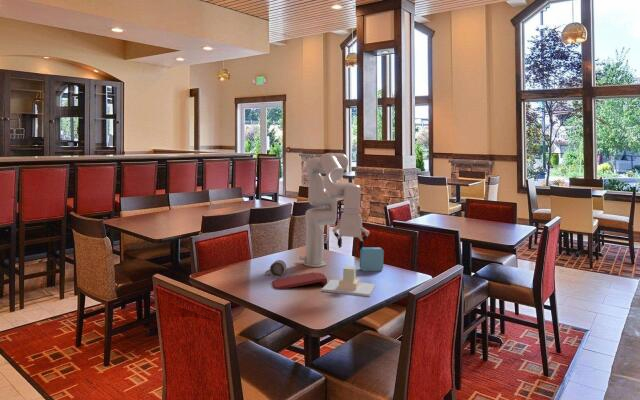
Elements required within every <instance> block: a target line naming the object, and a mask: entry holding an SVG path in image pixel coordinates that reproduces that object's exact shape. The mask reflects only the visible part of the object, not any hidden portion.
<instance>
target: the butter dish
mask: <svg viewBox="0 0 640 400" xmlns="http://www.w3.org/2000/svg"><path fill="white" fill-rule="evenodd" d="M374 289H376V284H374V283H366V282H360V278H356V280H355V281H354V282H345V281H343V277H342V278H341V279H340V280H338V279H329V281H327V284H326V285H325V286H323V287H322V288H321V292H325V293H334V294H335V293H337V294H343V295H353V296H360V297H370V296H372V294H373V292H374Z"/></svg>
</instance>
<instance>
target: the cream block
mask: <svg viewBox="0 0 640 400" xmlns="http://www.w3.org/2000/svg"><path fill="white" fill-rule="evenodd" d="M356 277H357V266H351V265H350V266H349V265H345V266H344V267H343V269H342V278H343V281H345V282H354V281H355V280H356V279H357V278H356Z"/></svg>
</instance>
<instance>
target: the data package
mask: <svg viewBox="0 0 640 400" xmlns="http://www.w3.org/2000/svg"><path fill="white" fill-rule="evenodd" d="M384 254H385V251H384V249H382V247H377V246H376V247H366V246H365V247H364V246H363V248H362V249H361V250H360V249H359V268H360V270H361V271H362V272H382V271H383V270H384V259H385V258H384V257H385V255H384Z"/></svg>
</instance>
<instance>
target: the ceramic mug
mask: <svg viewBox="0 0 640 400" xmlns="http://www.w3.org/2000/svg"><path fill="white" fill-rule="evenodd" d="M286 270H287V264H286V263H285V261H284V260H281V259H280V260H279V259H278V260H275V261H274V262H272V264H271V265H270V266H269V269H267V270H266V271H264V274H265V275H266V276H268V275H271V276H273V277H275V278H280V277H283V275H284V274H285V272H286Z"/></svg>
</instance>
